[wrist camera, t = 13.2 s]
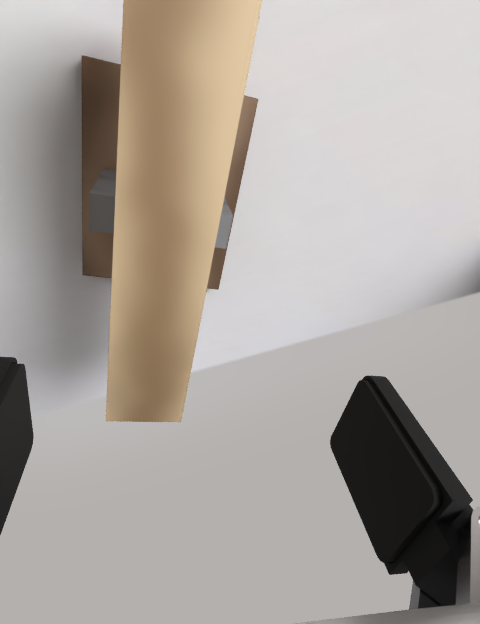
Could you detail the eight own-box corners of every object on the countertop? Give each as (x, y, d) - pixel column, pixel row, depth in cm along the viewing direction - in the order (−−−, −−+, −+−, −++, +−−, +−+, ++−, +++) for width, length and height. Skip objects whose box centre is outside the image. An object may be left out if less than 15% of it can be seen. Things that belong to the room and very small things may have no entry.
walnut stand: (254, 97, 28) (281, 107, 22) (216, 281, 36) (228, 329, 30) (85, 56, 25) (58, 52, 19) (85, 267, 33) (66, 316, 27)
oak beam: (239, 4, 19) (265, -19, 14) (178, 365, 31) (181, 422, 26) (136, -28, 17) (126, -65, 13) (115, 362, 30) (105, 421, 25)
